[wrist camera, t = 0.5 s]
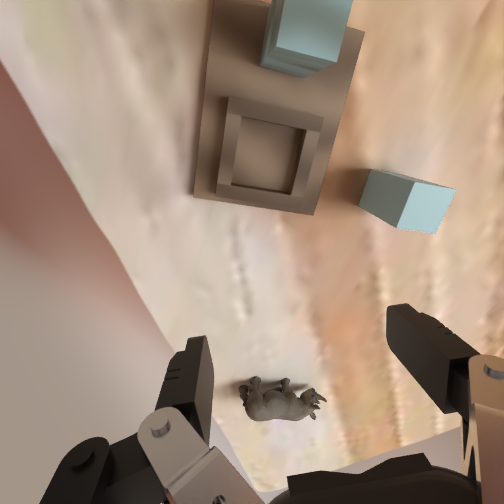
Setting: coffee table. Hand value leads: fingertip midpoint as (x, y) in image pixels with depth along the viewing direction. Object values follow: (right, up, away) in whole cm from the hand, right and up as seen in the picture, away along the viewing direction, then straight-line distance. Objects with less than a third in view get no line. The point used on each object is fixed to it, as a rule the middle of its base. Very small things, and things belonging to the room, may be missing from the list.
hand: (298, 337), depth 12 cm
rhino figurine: (+3, -18, +34) cm, 39 cm away
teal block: (+14, +11, +22) cm, 28 cm away
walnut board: (0, +17, +17) cm, 24 cm away
